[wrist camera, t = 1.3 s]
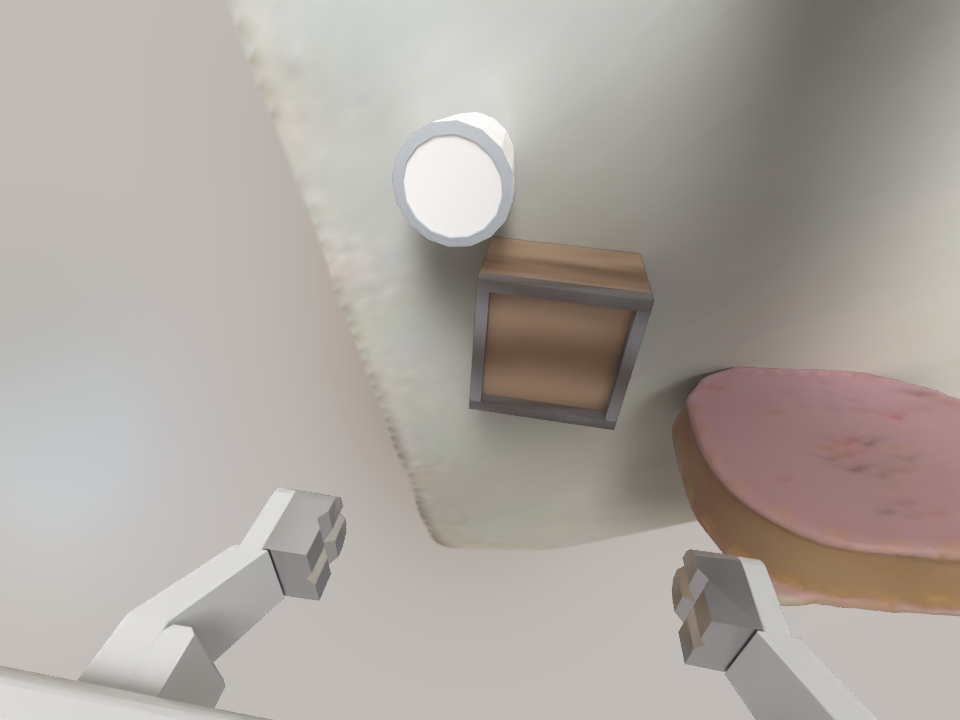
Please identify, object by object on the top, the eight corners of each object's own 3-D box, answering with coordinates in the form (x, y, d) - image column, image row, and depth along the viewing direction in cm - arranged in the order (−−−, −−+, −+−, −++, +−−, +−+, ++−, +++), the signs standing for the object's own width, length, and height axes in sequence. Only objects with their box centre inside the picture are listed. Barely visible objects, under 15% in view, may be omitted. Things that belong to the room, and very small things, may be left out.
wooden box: (492, 236, 35) (477, 278, 29) (640, 253, 34) (654, 300, 28) (483, 354, 41) (469, 408, 35) (607, 372, 40) (613, 430, 34)
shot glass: (421, 202, 34) (392, 238, 29) (424, 93, 30) (390, 111, 24) (516, 216, 34) (505, 256, 28) (532, 108, 30) (523, 129, 24)
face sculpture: (660, 422, 42) (702, 609, 29) (665, 358, 39) (717, 540, 25) (924, 420, 38) (1115, 637, 25) (960, 348, 34) (1209, 560, 21)
